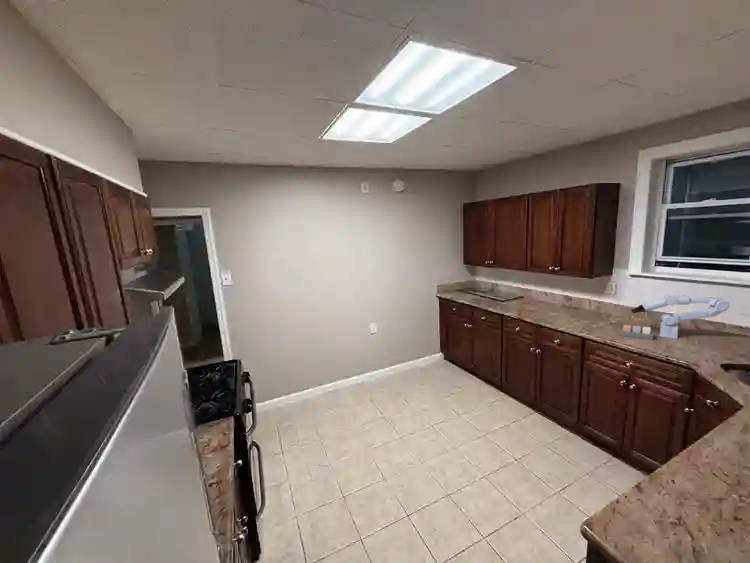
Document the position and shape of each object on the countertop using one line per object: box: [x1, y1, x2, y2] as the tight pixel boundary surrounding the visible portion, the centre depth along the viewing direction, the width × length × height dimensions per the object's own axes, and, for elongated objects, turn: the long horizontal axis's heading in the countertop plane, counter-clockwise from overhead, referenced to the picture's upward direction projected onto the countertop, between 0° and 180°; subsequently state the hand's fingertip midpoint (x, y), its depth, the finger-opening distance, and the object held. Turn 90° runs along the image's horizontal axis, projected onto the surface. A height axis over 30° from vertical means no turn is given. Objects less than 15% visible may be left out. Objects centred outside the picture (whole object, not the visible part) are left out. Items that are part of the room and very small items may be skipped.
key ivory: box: [642, 326, 652, 334], centre depth 232 cm, size 4×4×4 cm
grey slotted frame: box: [619, 327, 655, 341], centre depth 236 cm, size 19×9×3 cm, turn 47°
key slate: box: [632, 325, 642, 333], centre depth 235 cm, size 4×4×4 cm
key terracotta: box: [622, 324, 632, 332], centre depth 239 cm, size 4×4×4 cm
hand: (632, 311), depth 240 cm, fingers open, 7 cm apart
